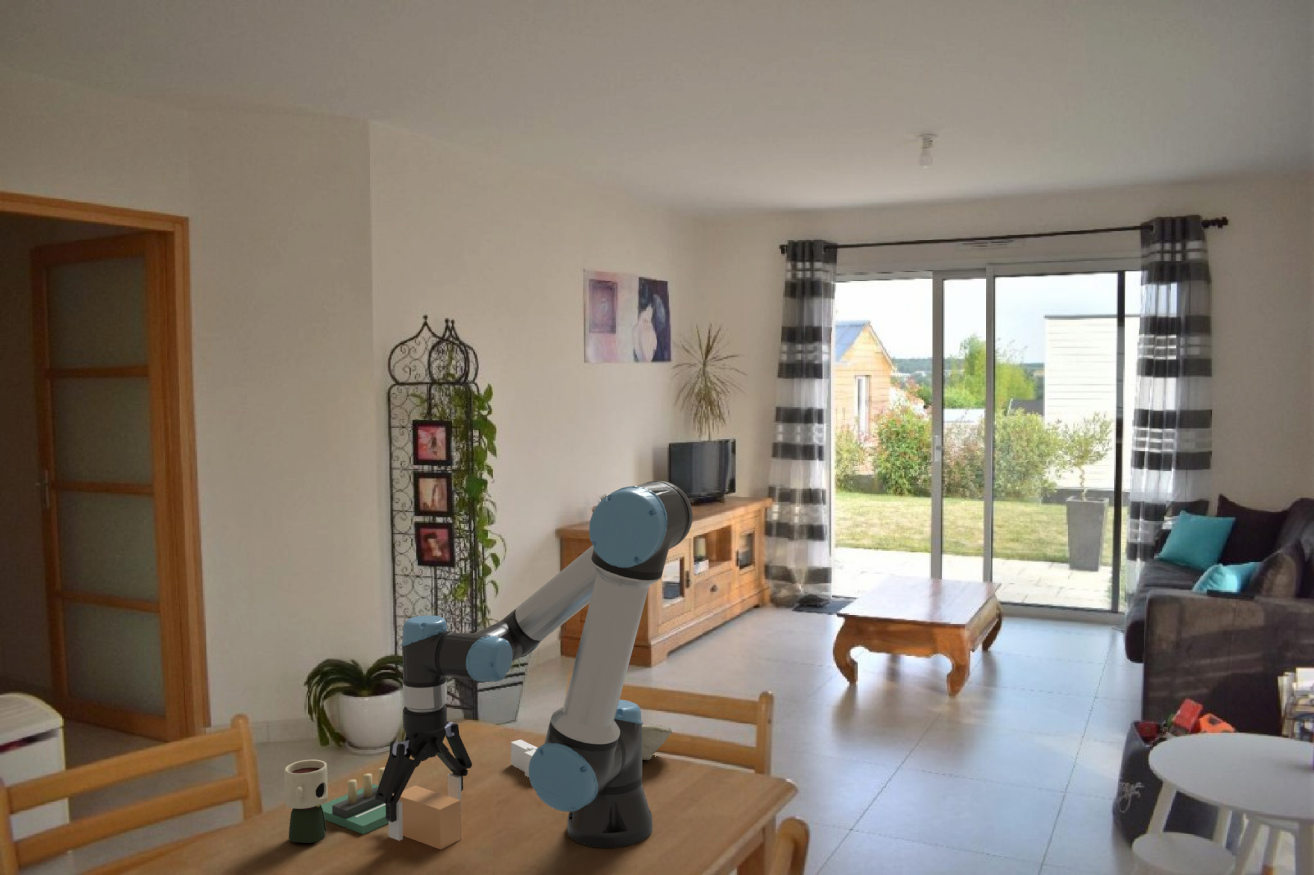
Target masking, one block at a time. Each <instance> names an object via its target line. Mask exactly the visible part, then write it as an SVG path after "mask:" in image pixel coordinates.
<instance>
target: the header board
mask: <svg viewBox="0 0 1314 875" xmlns="http://www.w3.org/2000/svg"><path fill="white" fill-rule="evenodd" d="M384 769H385V766H384V767H379V768H378V769H377V771H378V772H377V774H378V775H377V776H378V784H375V783H373V774H372V773H371V772H369V773H364V774H363V775H362V780H363V784H362V788H360V789H358V781H357V779H354V778H353V779H348V780H347V793H346V794H345V795H342V796H339V797H337V798H335V799H333V800H329V801H326V802H324V803H322V804H320V805H321V806H322V808H323V813H324V818H325V821H327V822H330V823H332V824H335V825H338V826H340V827H343V828H345V827H346V829H348V830H350V831H353V832H356V833H359V834H361V835H365V834H368V833H370V832H372V831H374V830H376V829H378V828H381V827H384V826H385V825H389V822H388V821H387V820H386V804H385V803H382V802H379V801H377V800H375V796H376V793H377V790H378V787H379V784H380V781H381V778H382V775H383V772H384Z"/></svg>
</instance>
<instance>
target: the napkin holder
mask: <svg viewBox="0 0 1314 875" xmlns="http://www.w3.org/2000/svg"><path fill="white" fill-rule="evenodd" d="M537 748H538V746H535V745H533V744H530V743H528V742H526V741H525V740H523V739H518V740H514V741H510V763H511V764H512V765H513V767H514V768H517V769H518V768H519V770H520V771H522V772H524V777H526V776H527V778H528V777H529V763H530V760H531V757H532V756H533V754H534V753H535V751H536V750H537ZM512 765H511V766H512Z"/></svg>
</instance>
